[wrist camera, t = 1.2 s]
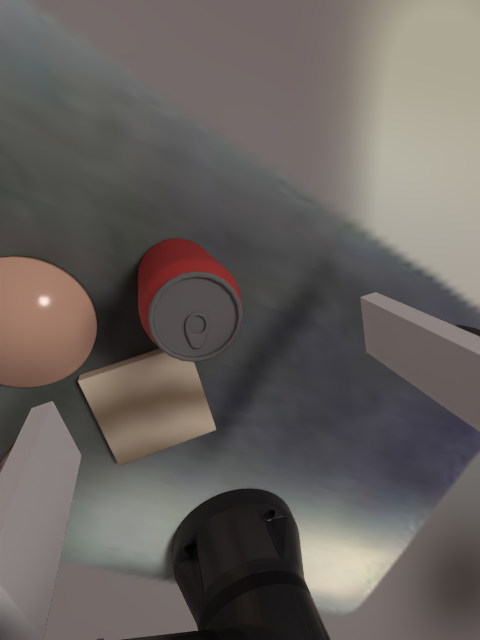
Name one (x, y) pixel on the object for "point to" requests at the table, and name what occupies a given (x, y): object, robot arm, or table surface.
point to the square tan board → (147, 404)
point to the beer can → (187, 301)
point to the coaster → (42, 322)
